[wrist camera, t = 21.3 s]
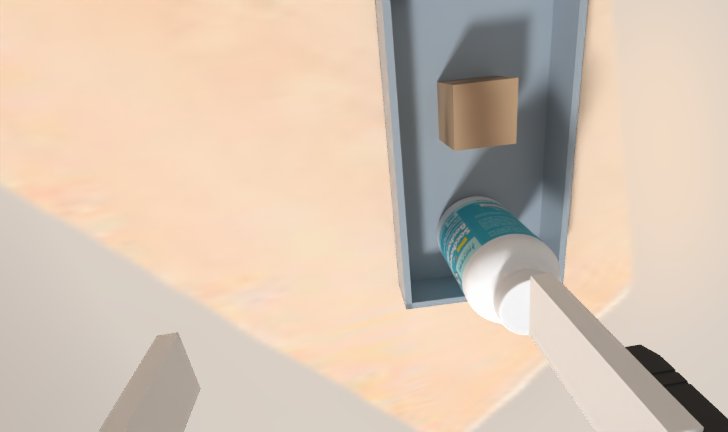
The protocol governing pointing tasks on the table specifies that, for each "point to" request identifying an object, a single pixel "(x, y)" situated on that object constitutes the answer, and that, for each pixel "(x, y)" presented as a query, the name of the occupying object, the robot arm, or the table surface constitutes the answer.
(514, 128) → the walnut cube
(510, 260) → the pill bottle
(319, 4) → the table surface
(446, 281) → the tote
